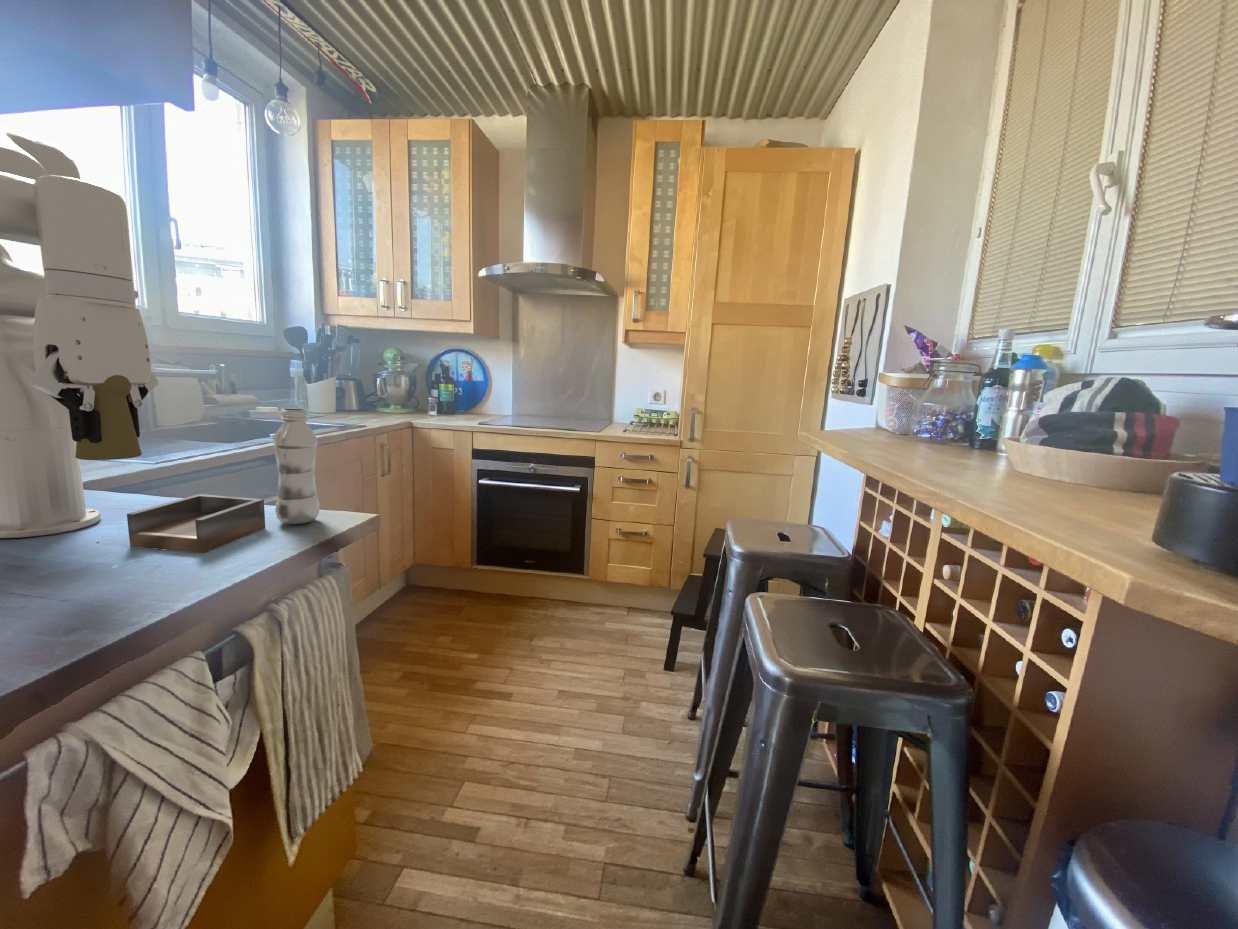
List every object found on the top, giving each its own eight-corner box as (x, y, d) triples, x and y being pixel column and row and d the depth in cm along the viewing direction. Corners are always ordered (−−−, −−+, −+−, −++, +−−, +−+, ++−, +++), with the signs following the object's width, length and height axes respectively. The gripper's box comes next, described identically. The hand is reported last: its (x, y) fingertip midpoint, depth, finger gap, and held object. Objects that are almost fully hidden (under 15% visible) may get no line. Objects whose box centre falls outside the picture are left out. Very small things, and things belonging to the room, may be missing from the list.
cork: (99, 462, 61) (89, 371, 59) (61, 456, 62) (50, 367, 60) (154, 455, 66) (146, 372, 64) (118, 449, 68) (110, 368, 66)
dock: (130, 547, 72) (126, 513, 71) (201, 522, 83) (199, 494, 82) (204, 553, 71) (202, 520, 71) (265, 527, 83) (263, 499, 82)
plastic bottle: (266, 526, 84) (260, 409, 80) (294, 515, 91) (289, 406, 87) (303, 530, 84) (298, 412, 80) (328, 518, 90) (325, 409, 87)
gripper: (130, 299, 69) (142, 429, 72) (-29, 275, 52) (-3, 446, 56) (183, 303, 69) (193, 434, 72) (41, 281, 52) (62, 452, 55)
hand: (107, 437), depth 64 cm, fingers closed on cork, 4 cm apart
